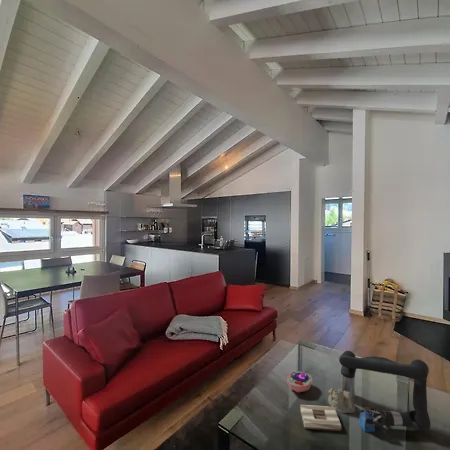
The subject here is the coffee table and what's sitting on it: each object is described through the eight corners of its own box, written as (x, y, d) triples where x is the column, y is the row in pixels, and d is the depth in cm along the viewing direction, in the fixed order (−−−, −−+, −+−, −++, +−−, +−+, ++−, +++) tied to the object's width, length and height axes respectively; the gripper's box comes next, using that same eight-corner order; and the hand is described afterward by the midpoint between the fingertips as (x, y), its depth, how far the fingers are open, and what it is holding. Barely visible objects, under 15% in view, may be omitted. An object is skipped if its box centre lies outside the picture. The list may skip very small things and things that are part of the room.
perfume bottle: (369, 423, 168) (369, 405, 167) (374, 431, 162) (375, 412, 161) (359, 423, 168) (359, 405, 167) (364, 431, 162) (365, 413, 161)
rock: (358, 413, 175) (356, 391, 175) (332, 413, 177) (331, 390, 177) (349, 398, 191) (348, 377, 191) (326, 398, 193) (325, 377, 193)
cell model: (281, 386, 204) (281, 371, 203) (302, 378, 212) (302, 365, 212) (296, 400, 189) (296, 385, 188) (317, 391, 197) (317, 377, 196)
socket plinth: (300, 410, 179) (300, 404, 179) (333, 412, 177) (333, 406, 177) (304, 428, 165) (304, 422, 164) (341, 431, 162) (341, 425, 162)
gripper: (386, 403, 169) (359, 402, 171) (398, 422, 155) (368, 419, 157) (385, 415, 170) (358, 413, 172) (397, 434, 156) (368, 431, 158)
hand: (363, 416), depth 164 cm, fingers closed on perfume bottle, 7 cm apart
